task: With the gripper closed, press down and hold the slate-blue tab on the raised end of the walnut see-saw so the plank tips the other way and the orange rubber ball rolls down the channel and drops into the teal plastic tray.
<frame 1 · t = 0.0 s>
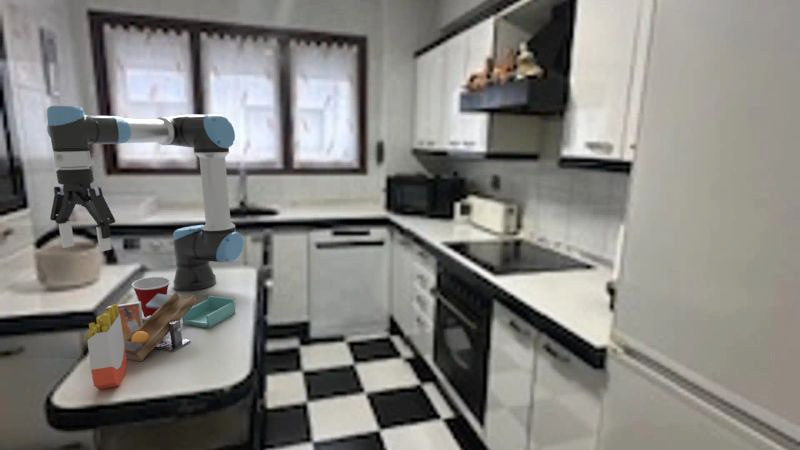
hand: (86, 248, 116), 28 cm above the worktop, tool pointing down, fingers open, 13 cm apart
french fries container: (111, 382, 104), on the worktop
small box: (127, 342, 123), on the worktop
tray: (209, 318, 139), on the worktop
stand: (163, 343, 123), on the worktop
plastic cup: (155, 317, 141), on the worktop
lever: (149, 321, 122), point 6 cm above the worktop, hinge at 23.0°, touching ball
ball: (140, 338, 115), point 5 cm above the worktop, tilted 11°, touching lever
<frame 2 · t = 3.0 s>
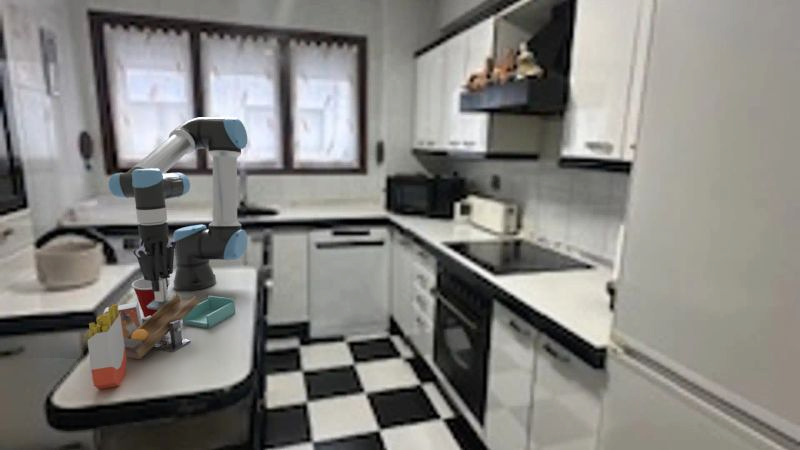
hand: (161, 300, 130), 9 cm above the worktop, tool pointing down, fingers closed
small box: (127, 342, 123), on the worktop, touching stand
lever: (149, 321, 122), point 6 cm above the worktop, hinge at 18.2°, touching ball, gripper
ball: (140, 336, 115), point 5 cm above the worktop, tilted 6°, touching lever
everything else where it was.
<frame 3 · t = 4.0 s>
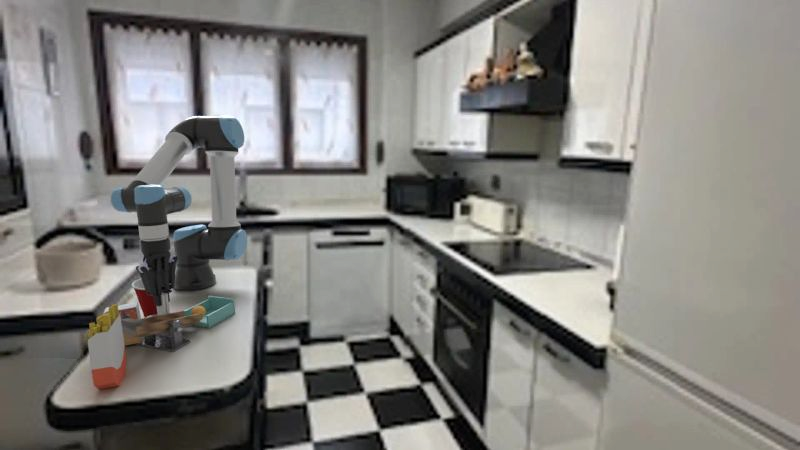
hand: (163, 314, 131), 5 cm above the worktop, tool pointing down, fingers closed
lever: (151, 320, 123), point 6 cm above the worktop, hinge at -13.2°, touching gripper
ball: (198, 312, 135), point 4 cm above the worktop, tilted 123°
everything else where it was.
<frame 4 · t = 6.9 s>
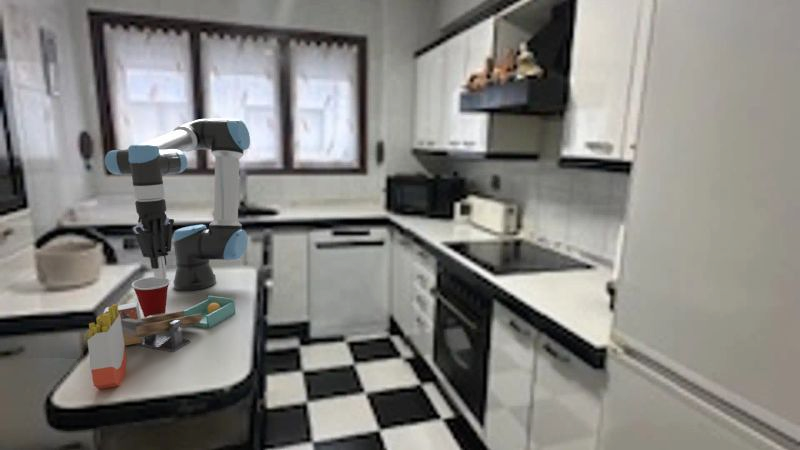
hand: (160, 277, 130), 16 cm above the worktop, tool pointing down, fingers closed
lever: (151, 320, 123), point 6 cm above the worktop, hinge at -13.3°
ball: (213, 308, 141), point 2 cm above the worktop, tilted 95°, touching tray
everything else where it was.
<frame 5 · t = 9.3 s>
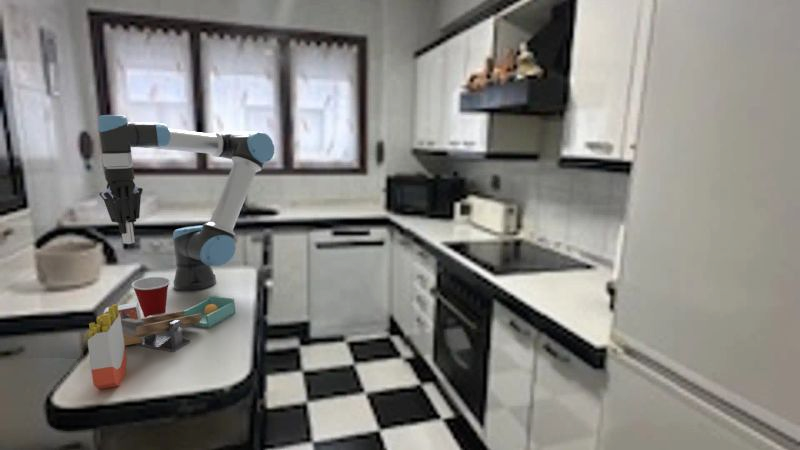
hand: (129, 242, 137), 24 cm above the worktop, tool pointing down, fingers closed
ball: (211, 310, 140), point 2 cm above the worktop, tilted 61°, touching tray
everything else where it was.
at the end: ball inside the target area on the tray (0.9 cm from its centre), point 2.4 cm above the tray's base; ball moved 25.7 cm from its start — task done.
